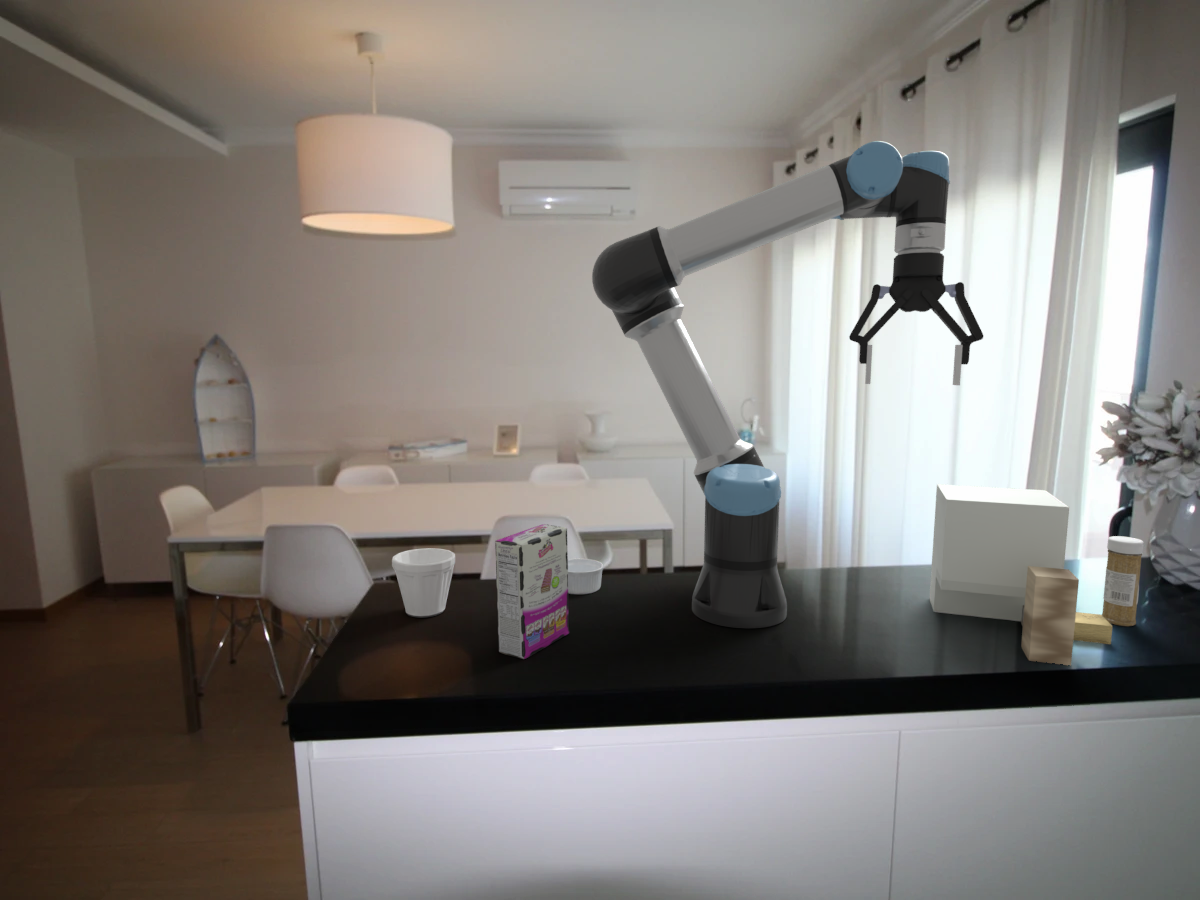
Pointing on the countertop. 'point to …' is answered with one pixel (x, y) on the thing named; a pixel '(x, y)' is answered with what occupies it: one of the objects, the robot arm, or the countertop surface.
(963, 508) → the cabinet
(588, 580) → the ramekin
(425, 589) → the cup
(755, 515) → the robot arm
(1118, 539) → the sprinkles bottle
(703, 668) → the countertop surface
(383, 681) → the countertop surface
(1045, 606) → the wooden rectangular block
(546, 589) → the candy bar box
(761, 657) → the countertop surface
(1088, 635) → the small wooden block
